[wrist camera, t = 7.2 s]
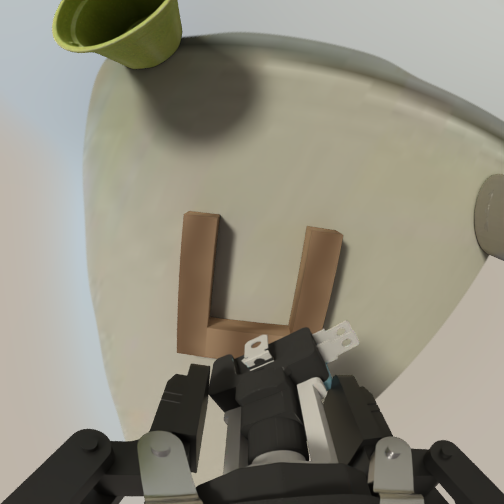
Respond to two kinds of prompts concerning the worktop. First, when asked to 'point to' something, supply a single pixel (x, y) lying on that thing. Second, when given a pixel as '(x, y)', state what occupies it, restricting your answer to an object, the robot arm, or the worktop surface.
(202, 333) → the notched board
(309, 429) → the push button
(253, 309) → the worktop surface
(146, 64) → the plant pot
